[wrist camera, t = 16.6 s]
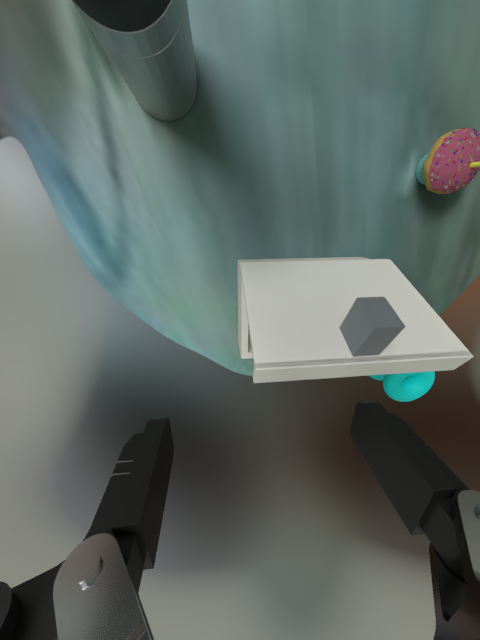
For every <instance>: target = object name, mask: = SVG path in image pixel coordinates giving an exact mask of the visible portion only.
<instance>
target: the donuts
mask: <svg viewBox="0 0 480 640" xmlns="http://www.w3.org/2000/svg"><path fill="white" fill-rule="evenodd" d="M369 377H371V378H373V379H376V380H383V388H384V391H385V392H386V394H387V395H388V396H389V397H390V398H392V399H394V400H396V401H401V402H407V401H412V400H415V399H417V398H419V397H421V396H422V395H424V394H425V393H426V392H427V391H428V390H429V389H430V388H431V386H432V385H433V382H434V379H435V373H434V371H429V372H414V373H399V374H384V375H369ZM404 379H405V380H404Z"/></svg>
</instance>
